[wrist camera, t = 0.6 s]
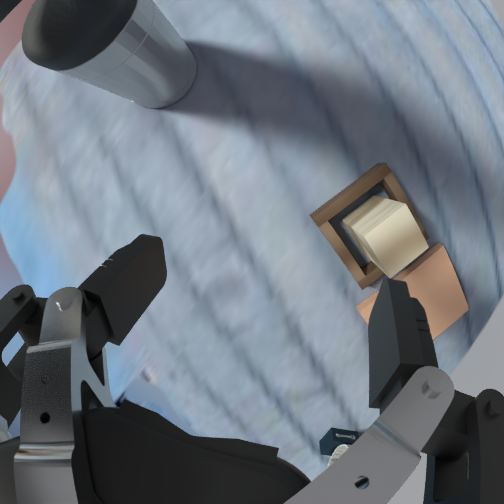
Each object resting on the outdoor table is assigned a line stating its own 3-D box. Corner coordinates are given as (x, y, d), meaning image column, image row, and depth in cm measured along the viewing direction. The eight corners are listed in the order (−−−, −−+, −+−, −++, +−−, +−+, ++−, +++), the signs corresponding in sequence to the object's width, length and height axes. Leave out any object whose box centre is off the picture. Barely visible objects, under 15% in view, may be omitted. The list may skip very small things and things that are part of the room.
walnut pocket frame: (309, 215, 33) (312, 218, 31) (378, 163, 31) (385, 163, 28) (356, 282, 35) (362, 290, 32) (419, 233, 33) (428, 237, 30)
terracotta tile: (356, 306, 36) (359, 311, 34) (438, 242, 33) (443, 245, 31) (392, 361, 38) (395, 367, 36) (464, 305, 35) (469, 309, 33)
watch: (363, 425, 42) (376, 472, 31) (339, 450, 44) (347, 495, 33) (336, 420, 41) (346, 471, 31) (314, 446, 44) (318, 494, 33)
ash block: (341, 219, 33) (363, 236, 24) (373, 195, 32) (405, 203, 23) (363, 252, 34) (390, 278, 25) (394, 228, 33) (429, 247, 24)
